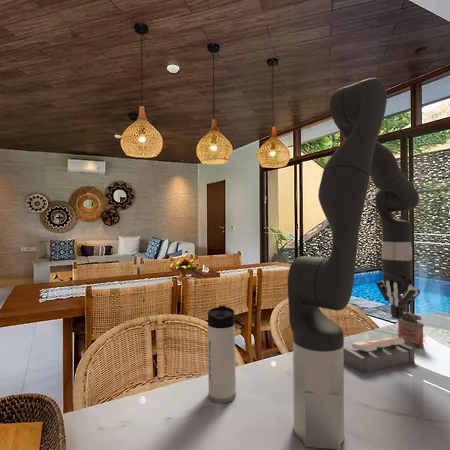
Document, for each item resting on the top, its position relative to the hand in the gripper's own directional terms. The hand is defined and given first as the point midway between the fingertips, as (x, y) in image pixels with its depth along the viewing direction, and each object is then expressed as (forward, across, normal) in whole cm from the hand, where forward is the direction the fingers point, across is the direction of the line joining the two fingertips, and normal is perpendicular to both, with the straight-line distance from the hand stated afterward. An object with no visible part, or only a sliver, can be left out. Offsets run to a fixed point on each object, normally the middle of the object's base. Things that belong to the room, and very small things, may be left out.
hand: (397, 318), depth 87 cm
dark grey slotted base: (+12, -2, -5) cm, 13 cm away
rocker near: (+7, -2, -10) cm, 13 cm away
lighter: (+13, -8, +14) cm, 20 cm away
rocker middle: (+7, -2, -5) cm, 9 cm away
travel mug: (+12, -1, -52) cm, 54 cm away
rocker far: (+7, -2, 0) cm, 7 cm away
